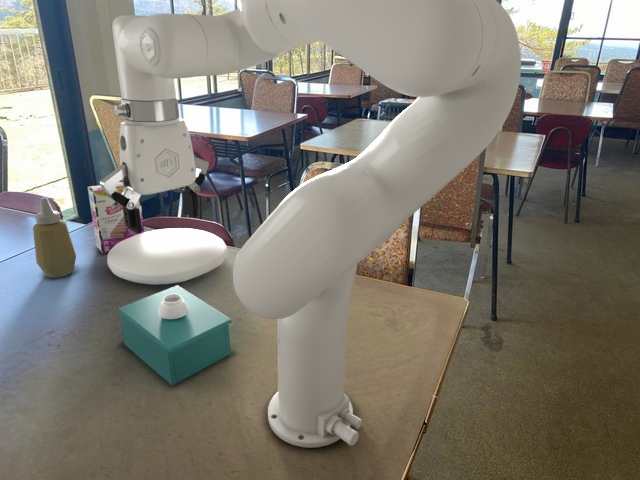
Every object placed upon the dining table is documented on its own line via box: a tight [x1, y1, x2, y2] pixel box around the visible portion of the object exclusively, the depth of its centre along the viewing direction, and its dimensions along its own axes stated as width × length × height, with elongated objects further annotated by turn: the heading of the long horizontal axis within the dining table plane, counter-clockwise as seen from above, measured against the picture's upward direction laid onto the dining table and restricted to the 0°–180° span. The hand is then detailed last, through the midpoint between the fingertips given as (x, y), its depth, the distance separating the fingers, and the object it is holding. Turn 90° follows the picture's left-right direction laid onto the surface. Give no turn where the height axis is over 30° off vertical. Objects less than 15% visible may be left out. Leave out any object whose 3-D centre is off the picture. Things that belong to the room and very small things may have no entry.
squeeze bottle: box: [32, 196, 77, 279], centre depth 106 cm, size 8×8×18 cm
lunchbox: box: [118, 311, 231, 386], centre depth 84 cm, size 16×12×7 cm
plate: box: [106, 227, 228, 286], centre depth 114 cm, size 28×6×27 cm
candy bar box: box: [87, 181, 145, 254], centre depth 121 cm, size 11×5×16 cm, turn 130°
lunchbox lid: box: [118, 284, 232, 353], centre depth 82 cm, size 16×12×1 cm
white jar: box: [158, 294, 189, 319], centre depth 81 cm, size 5×3×5 cm
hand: (164, 222), depth 75 cm, fingers open, 9 cm apart
